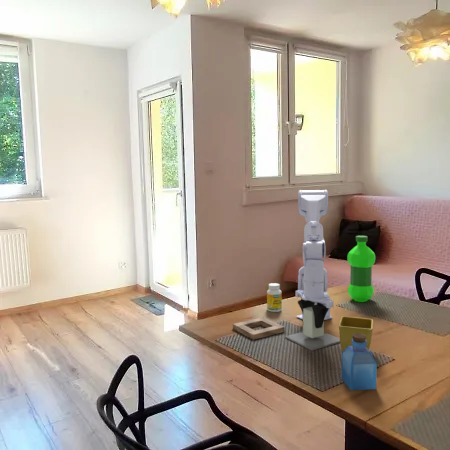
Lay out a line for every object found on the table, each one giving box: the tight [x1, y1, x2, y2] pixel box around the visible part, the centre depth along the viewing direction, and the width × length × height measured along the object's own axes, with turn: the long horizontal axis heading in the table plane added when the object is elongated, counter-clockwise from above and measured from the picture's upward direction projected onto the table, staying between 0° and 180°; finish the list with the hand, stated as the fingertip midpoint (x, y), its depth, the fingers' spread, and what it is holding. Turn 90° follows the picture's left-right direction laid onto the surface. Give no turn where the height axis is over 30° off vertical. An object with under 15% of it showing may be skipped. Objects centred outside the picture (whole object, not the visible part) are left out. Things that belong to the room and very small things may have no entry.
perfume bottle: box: [341, 333, 378, 391], centre depth 109 cm, size 6×6×12 cm
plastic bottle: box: [347, 235, 376, 303], centre depth 176 cm, size 10×10×25 cm
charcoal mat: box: [285, 331, 341, 351], centre depth 138 cm, size 12×12×1 cm
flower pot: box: [338, 315, 374, 352], centre depth 127 cm, size 9×9×9 cm
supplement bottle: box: [266, 282, 283, 313], centre depth 167 cm, size 5×5×10 cm
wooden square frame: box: [232, 316, 286, 341], centre depth 147 cm, size 12×12×2 cm
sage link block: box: [302, 307, 325, 338], centre depth 137 cm, size 4×4×8 cm
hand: (313, 325), depth 137 cm, fingers closed on sage link block, 4 cm apart
